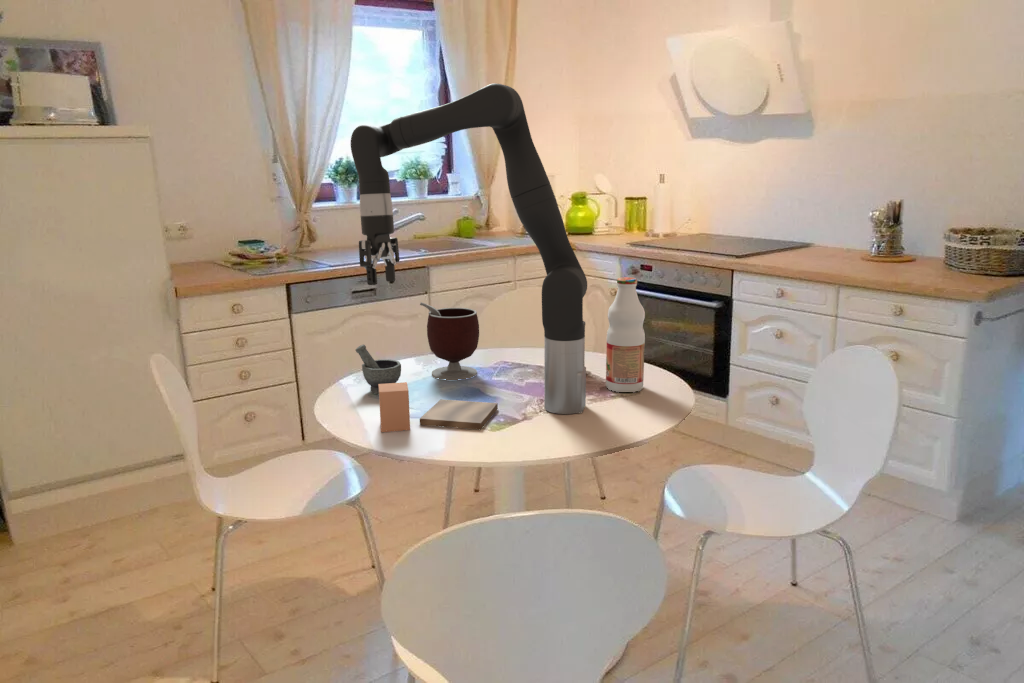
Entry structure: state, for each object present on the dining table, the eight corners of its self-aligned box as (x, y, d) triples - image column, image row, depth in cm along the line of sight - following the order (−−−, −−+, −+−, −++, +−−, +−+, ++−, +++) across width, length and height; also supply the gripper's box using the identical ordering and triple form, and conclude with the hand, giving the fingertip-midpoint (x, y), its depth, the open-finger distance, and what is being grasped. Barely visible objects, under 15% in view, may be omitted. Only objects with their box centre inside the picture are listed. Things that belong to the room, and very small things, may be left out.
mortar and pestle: (405, 385, 200) (402, 340, 197) (399, 396, 191) (397, 349, 188) (361, 385, 200) (358, 340, 197) (354, 396, 191) (351, 349, 188)
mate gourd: (479, 366, 217) (478, 296, 212) (480, 380, 203) (478, 306, 198) (424, 368, 216) (421, 297, 211) (421, 382, 202) (418, 307, 198)
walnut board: (497, 409, 180) (497, 403, 180) (480, 429, 167) (480, 423, 167) (440, 405, 184) (440, 399, 183) (419, 425, 170) (419, 418, 170)
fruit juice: (625, 396, 189) (628, 283, 182) (597, 387, 196) (599, 278, 189) (651, 388, 195) (654, 278, 188) (623, 380, 202) (625, 274, 195)
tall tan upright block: (408, 420, 173) (406, 382, 171) (410, 430, 167) (408, 390, 165) (380, 422, 172) (378, 384, 170) (381, 432, 166) (379, 392, 164)
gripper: (374, 213, 173) (380, 286, 175) (405, 212, 186) (410, 279, 189) (346, 215, 175) (352, 286, 178) (378, 214, 189) (383, 280, 191)
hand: (381, 283), depth 183 cm, fingers open, 8 cm apart
